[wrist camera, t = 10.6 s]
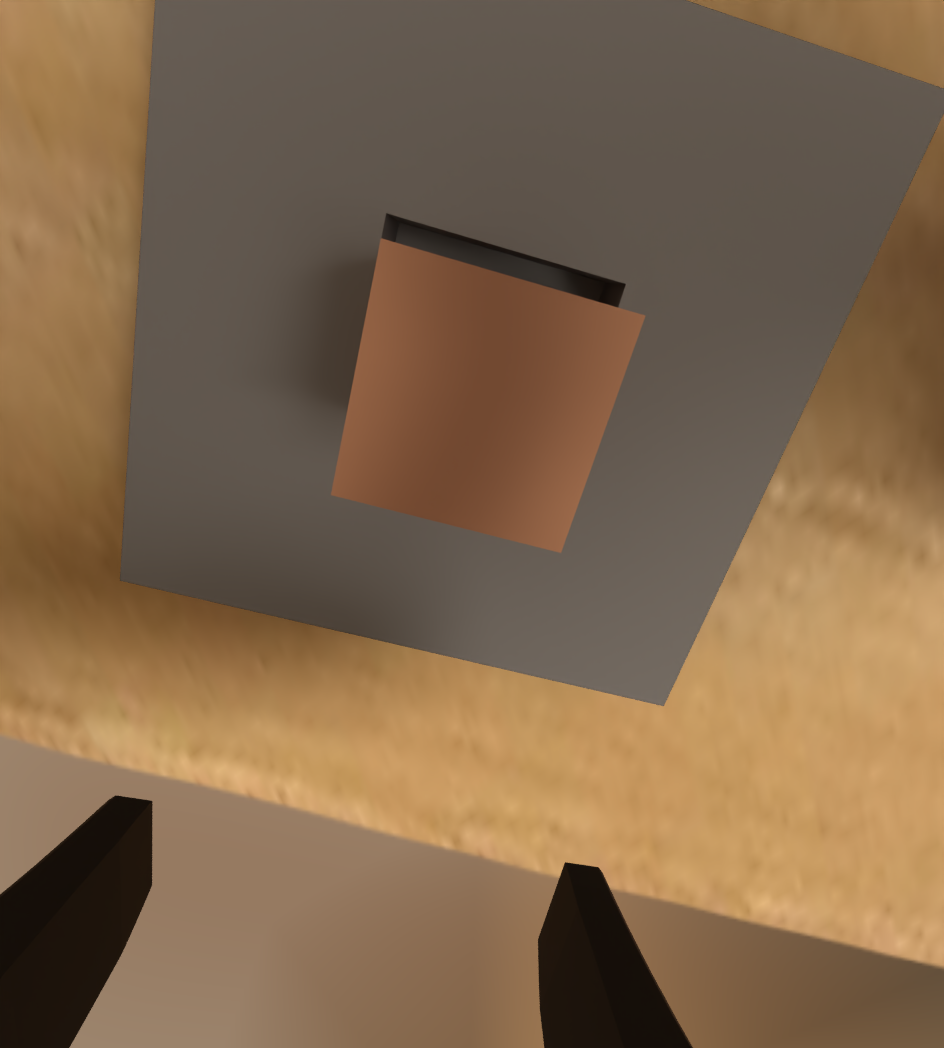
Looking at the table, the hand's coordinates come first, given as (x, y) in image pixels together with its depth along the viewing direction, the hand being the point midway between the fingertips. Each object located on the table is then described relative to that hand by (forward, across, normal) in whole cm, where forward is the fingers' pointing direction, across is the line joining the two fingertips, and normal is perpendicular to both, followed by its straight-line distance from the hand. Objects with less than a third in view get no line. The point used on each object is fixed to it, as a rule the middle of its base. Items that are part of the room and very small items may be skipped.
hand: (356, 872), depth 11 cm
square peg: (+10, -1, -8) cm, 13 cm away
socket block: (+10, -1, -8) cm, 13 cm away
